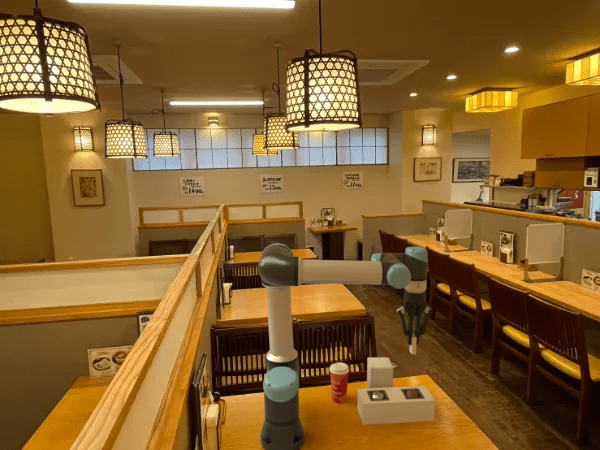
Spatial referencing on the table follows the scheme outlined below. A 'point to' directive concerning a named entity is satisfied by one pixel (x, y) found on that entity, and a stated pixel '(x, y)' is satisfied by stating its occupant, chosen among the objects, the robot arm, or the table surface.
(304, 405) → the table surface
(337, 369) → the paper cup
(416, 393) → the walnut peg
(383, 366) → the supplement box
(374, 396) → the metal peg
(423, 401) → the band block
